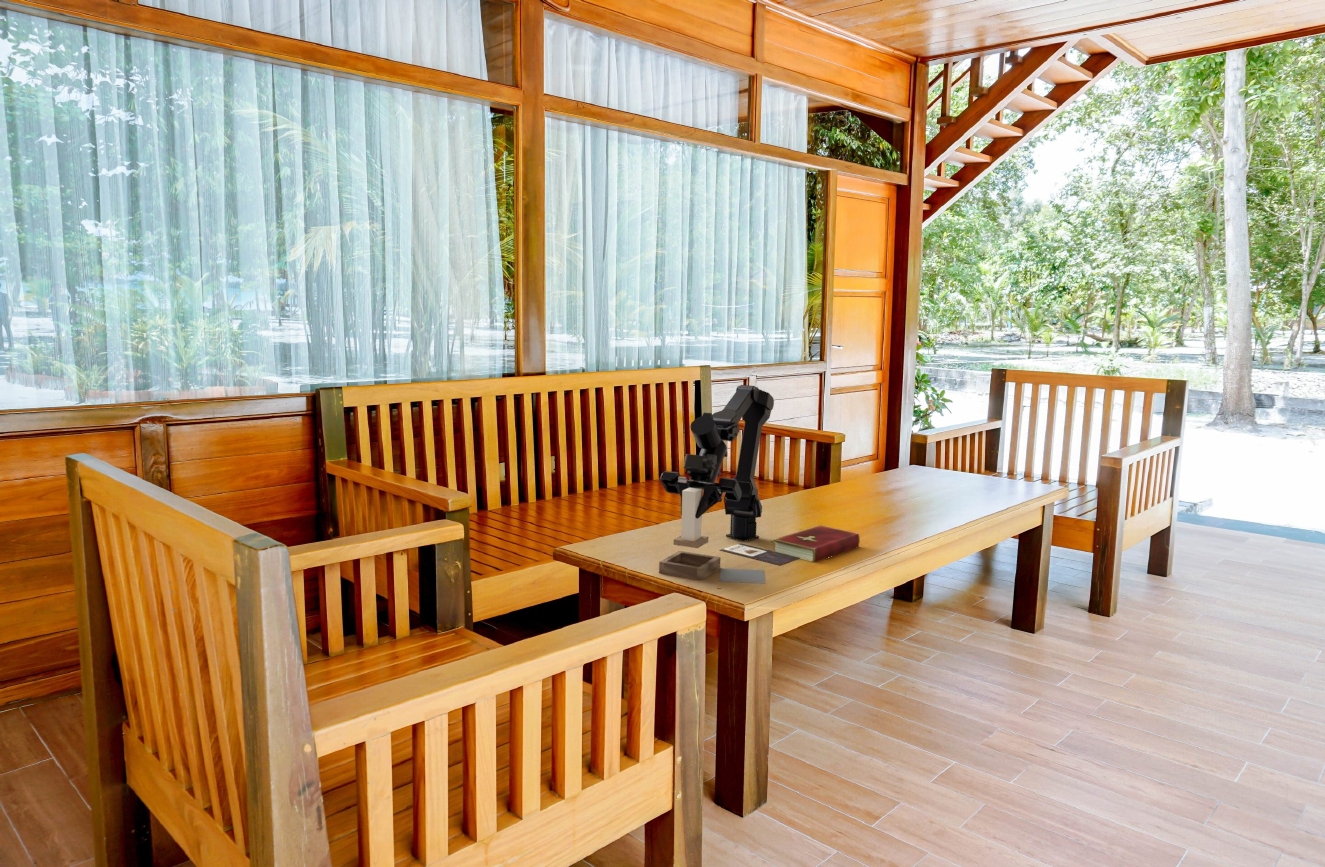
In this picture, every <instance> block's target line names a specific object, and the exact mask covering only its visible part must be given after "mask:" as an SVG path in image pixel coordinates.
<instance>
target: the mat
mask: <svg viewBox="0 0 1325 867" xmlns="http://www.w3.org/2000/svg"><path fill="white" fill-rule="evenodd" d="M765 576H766V575H765V570H764V569H751V568H750V569H749V568H727V567H720V574H719V582H720V583H722V582H723V583H739V584H740V583H744V584H761V585H763V584H764V585H765V584H766V577H765Z"/></svg>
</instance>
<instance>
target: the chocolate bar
mask: <svg viewBox="0 0 1325 867" xmlns="http://www.w3.org/2000/svg"><path fill="white" fill-rule="evenodd" d="M719 551H720V552H723V553H728V554H731V555H735V556H736V555H737V556H739V557H744V558H748V559H751V560H755V561H759V562H763V563H767V564H770V565H774V566H778V567H779V566H784V565H786V564H790V563H791V562H794V561H797V560H799V559H801V558H798V557H794V556H790V555H786V554H782V553H778V552H775V550H770V549H766V548H762V547H758V546H753V545H749V544H746V543H742V542H741V543H737V544H735V545H732V546H728V547H725V548H722V549H719Z"/></svg>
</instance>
